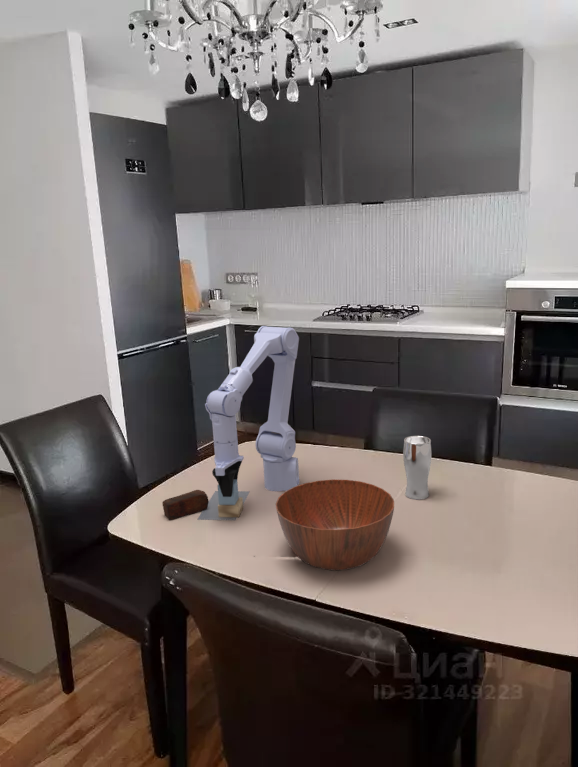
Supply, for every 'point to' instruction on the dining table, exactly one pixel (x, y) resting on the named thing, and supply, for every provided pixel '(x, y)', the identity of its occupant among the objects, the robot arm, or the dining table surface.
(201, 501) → the brick
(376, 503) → the bowl
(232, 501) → the blue block
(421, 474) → the beer glass
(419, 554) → the dining table surface
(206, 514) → the board
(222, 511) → the oak block
